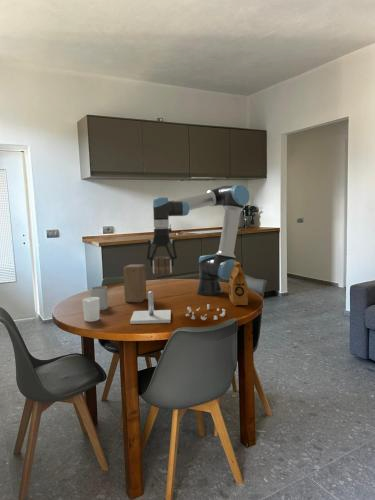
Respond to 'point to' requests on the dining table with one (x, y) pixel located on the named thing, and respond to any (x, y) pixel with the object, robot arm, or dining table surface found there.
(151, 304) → the post
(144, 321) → the white flat block
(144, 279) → the wooden block
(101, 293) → the mug
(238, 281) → the coffee package
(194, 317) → the game piece set
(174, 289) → the dining table surface
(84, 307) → the white cup
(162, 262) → the walnut bead
